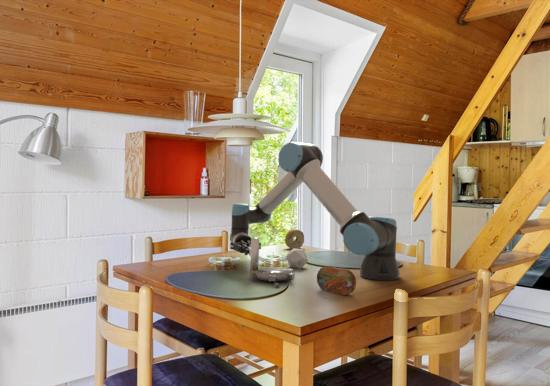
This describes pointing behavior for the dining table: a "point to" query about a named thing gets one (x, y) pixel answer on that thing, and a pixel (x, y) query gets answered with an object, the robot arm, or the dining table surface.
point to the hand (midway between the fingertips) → (252, 253)
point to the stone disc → (297, 242)
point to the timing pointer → (276, 284)
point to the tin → (336, 280)
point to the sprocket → (266, 272)
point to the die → (297, 258)
